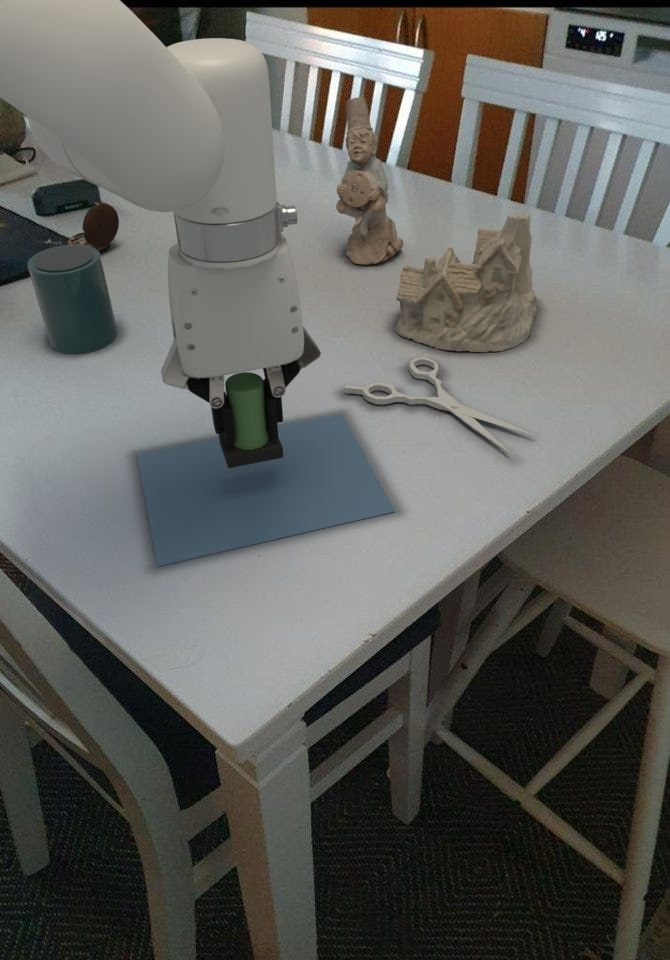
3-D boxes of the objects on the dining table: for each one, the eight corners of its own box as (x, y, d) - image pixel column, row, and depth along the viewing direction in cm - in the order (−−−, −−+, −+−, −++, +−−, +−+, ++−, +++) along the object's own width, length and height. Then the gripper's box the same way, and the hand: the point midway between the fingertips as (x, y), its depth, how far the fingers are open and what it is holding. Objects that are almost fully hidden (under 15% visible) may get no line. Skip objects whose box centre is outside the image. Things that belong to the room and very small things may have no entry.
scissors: (411, 349, 91) (560, 420, 80) (411, 355, 92) (559, 426, 80) (343, 386, 86) (492, 468, 74) (343, 392, 86) (492, 474, 75)
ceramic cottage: (550, 299, 101) (558, 179, 91) (511, 368, 90) (515, 239, 80) (432, 285, 107) (429, 171, 97) (383, 348, 96) (373, 226, 87)
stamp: (228, 468, 70) (219, 399, 66) (219, 443, 73) (210, 375, 69) (283, 457, 72) (278, 388, 67) (273, 433, 75) (267, 365, 70)
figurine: (352, 238, 118) (349, 90, 105) (408, 245, 115) (412, 94, 103) (331, 264, 111) (325, 109, 99) (390, 271, 109) (392, 114, 96)
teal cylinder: (51, 359, 94) (27, 278, 87) (49, 327, 100) (26, 249, 93) (120, 347, 96) (102, 266, 89) (114, 316, 102) (96, 239, 95)
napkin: (157, 567, 67) (157, 566, 67) (136, 455, 79) (136, 454, 79) (395, 512, 71) (395, 511, 71) (341, 414, 83) (341, 413, 83)
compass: (89, 235, 122) (78, 187, 117) (126, 246, 118) (116, 197, 114) (47, 255, 117) (34, 205, 112) (85, 267, 113) (72, 216, 109)
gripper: (320, 199, 64) (326, 394, 76) (110, 226, 61) (150, 426, 72) (349, 234, 59) (351, 439, 70) (120, 266, 55) (161, 476, 67)
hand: (249, 431), depth 71 cm, fingers closed on stamp, 3 cm apart
